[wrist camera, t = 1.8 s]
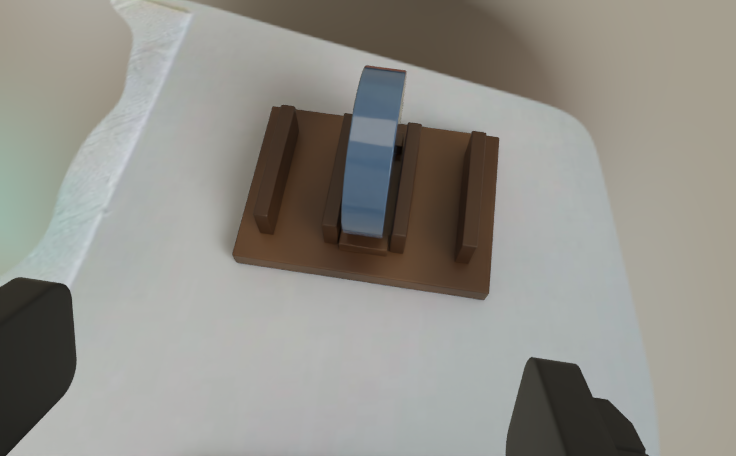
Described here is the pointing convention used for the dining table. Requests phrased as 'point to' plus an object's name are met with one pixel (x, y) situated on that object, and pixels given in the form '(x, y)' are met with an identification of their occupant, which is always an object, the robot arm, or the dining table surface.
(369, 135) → the disc
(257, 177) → the rack
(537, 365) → the robot arm
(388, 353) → the dining table surface
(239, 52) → the dining table surface
